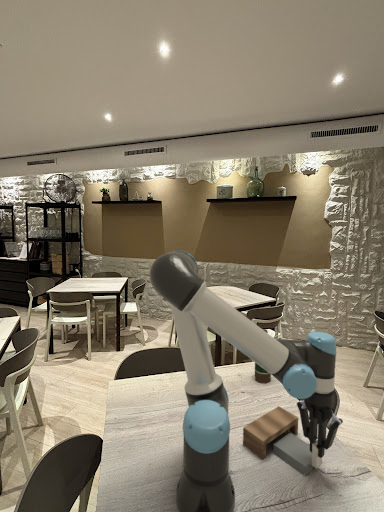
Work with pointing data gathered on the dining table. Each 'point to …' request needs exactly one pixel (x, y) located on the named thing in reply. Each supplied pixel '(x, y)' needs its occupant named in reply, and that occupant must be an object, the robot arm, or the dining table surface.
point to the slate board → (295, 452)
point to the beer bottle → (262, 372)
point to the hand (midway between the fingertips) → (316, 464)
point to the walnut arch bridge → (268, 429)
